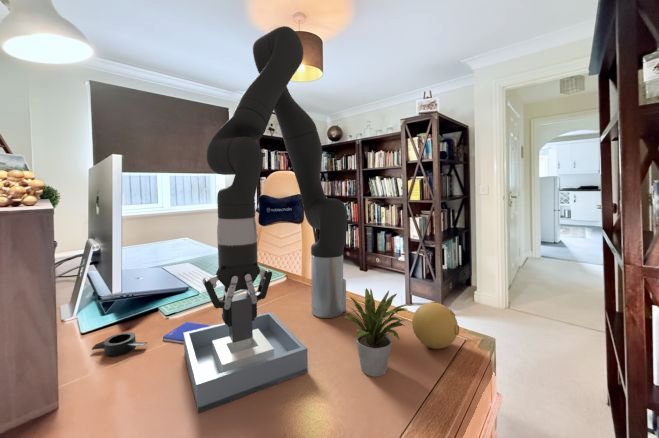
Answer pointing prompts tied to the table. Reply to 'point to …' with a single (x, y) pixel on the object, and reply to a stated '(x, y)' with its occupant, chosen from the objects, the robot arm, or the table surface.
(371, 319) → the house plant
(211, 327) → the walled box
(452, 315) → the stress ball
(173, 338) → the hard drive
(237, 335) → the plug
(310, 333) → the table surface
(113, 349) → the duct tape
